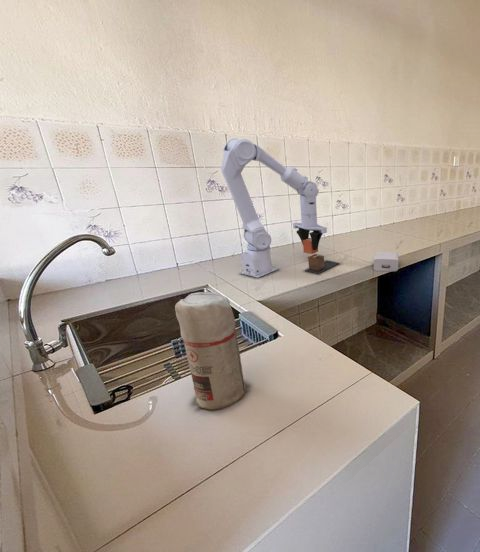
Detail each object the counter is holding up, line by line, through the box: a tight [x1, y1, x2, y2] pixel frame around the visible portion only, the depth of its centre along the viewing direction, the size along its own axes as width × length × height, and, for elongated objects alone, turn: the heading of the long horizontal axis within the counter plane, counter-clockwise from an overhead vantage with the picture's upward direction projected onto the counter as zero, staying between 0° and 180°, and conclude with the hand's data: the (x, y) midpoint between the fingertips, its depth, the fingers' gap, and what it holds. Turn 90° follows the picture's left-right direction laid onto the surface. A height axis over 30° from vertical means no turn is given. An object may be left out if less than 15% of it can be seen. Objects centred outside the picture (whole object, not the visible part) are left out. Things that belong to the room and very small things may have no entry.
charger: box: [373, 251, 399, 272], centre depth 131 cm, size 5×9×15 cm
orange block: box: [302, 237, 319, 255], centre depth 130 cm, size 5×4×5 cm
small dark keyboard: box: [304, 260, 340, 275], centre depth 126 cm, size 13×6×1 cm, turn 155°
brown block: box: [307, 253, 325, 272], centre depth 122 cm, size 4×4×5 cm
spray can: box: [174, 291, 247, 410], centre depth 58 cm, size 8×8×20 cm
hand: (310, 248), depth 130 cm, fingers closed on orange block, 4 cm apart
